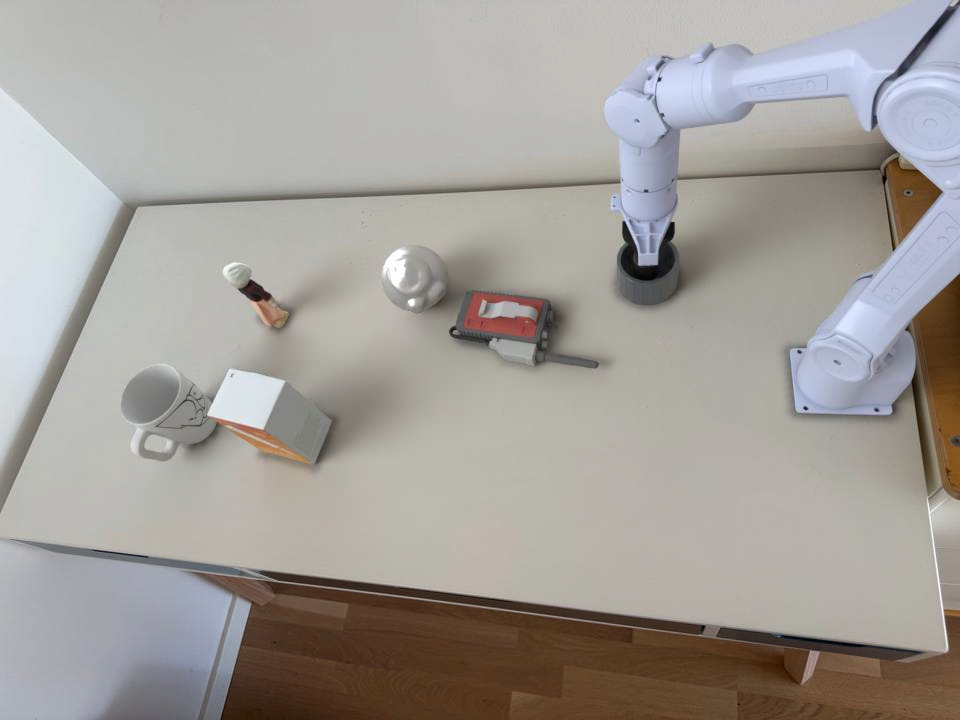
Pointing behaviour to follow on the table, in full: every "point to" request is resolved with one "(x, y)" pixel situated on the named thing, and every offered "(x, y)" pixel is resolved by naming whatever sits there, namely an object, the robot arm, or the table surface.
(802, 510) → the table surface
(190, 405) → the mug
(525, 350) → the walkie-talkie
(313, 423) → the small box
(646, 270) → the brush
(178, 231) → the table surface
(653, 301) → the cylindrical container
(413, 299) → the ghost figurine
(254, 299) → the grandmother figurine
